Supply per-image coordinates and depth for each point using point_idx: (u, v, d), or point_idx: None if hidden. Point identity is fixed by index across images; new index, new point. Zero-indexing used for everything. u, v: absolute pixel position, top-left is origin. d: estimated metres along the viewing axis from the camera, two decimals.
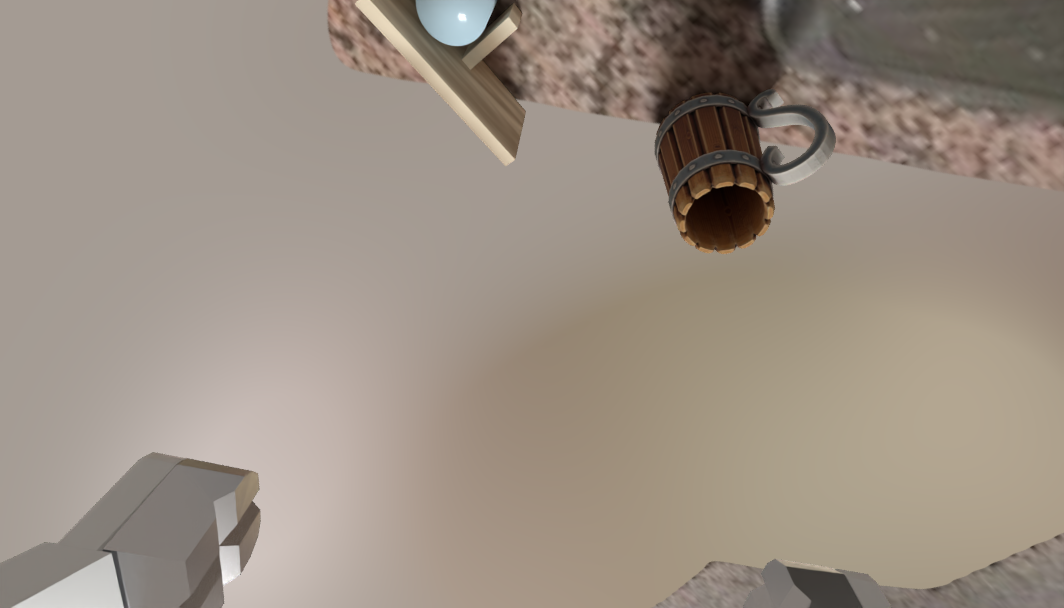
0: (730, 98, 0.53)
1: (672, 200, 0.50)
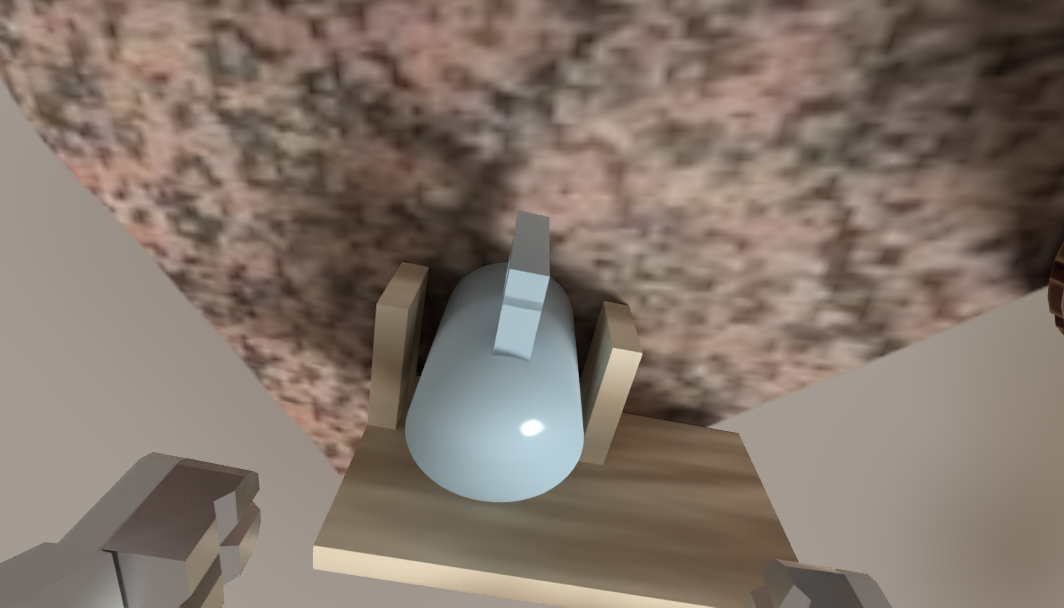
0: None
1: None
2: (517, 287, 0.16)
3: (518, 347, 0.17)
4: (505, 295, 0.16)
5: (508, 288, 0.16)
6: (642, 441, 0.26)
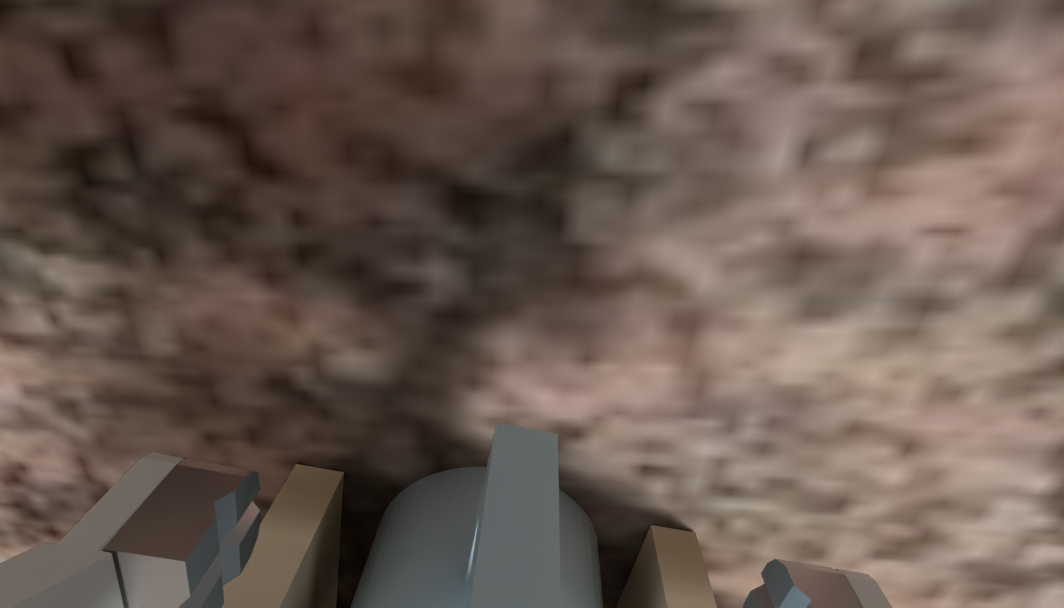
0: None
1: None
2: None
3: None
4: None
5: None
6: None
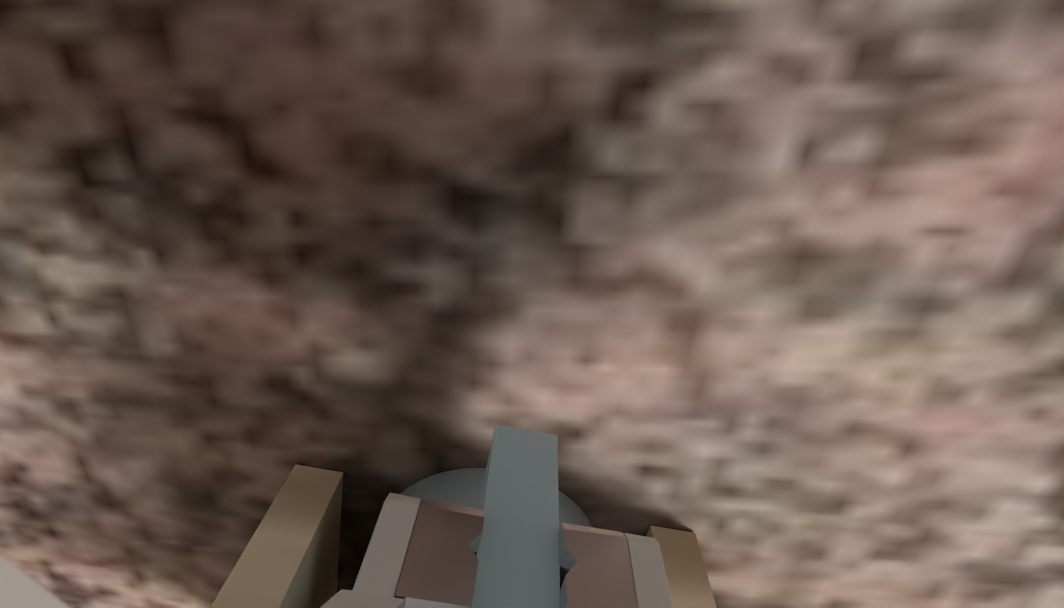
0: None
1: None
2: None
3: None
4: None
5: None
6: None
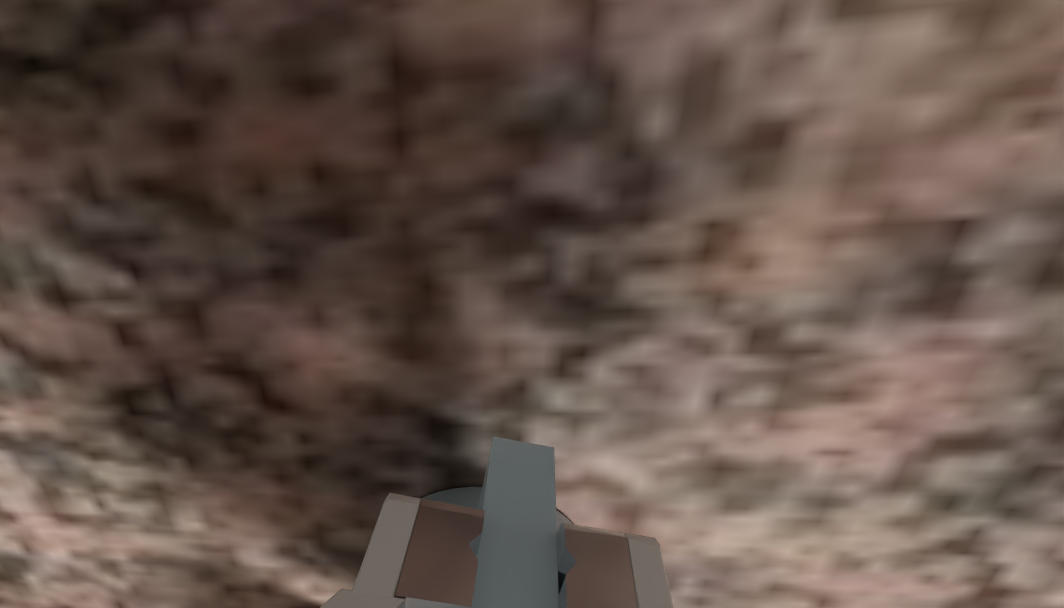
0: None
1: None
2: None
3: None
4: None
5: None
6: None
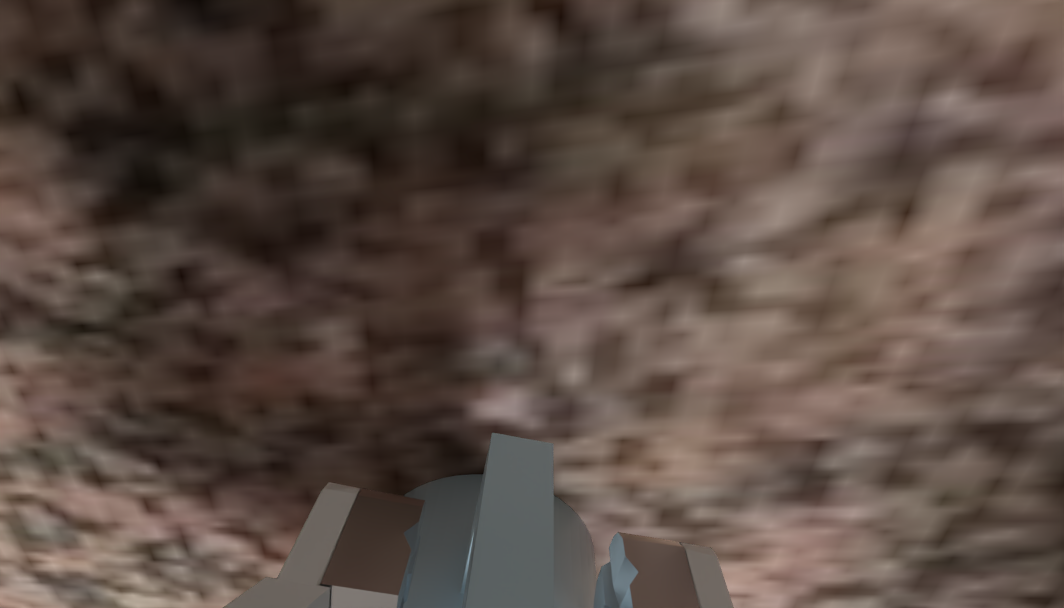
0: None
1: None
2: None
3: None
4: None
5: None
6: None
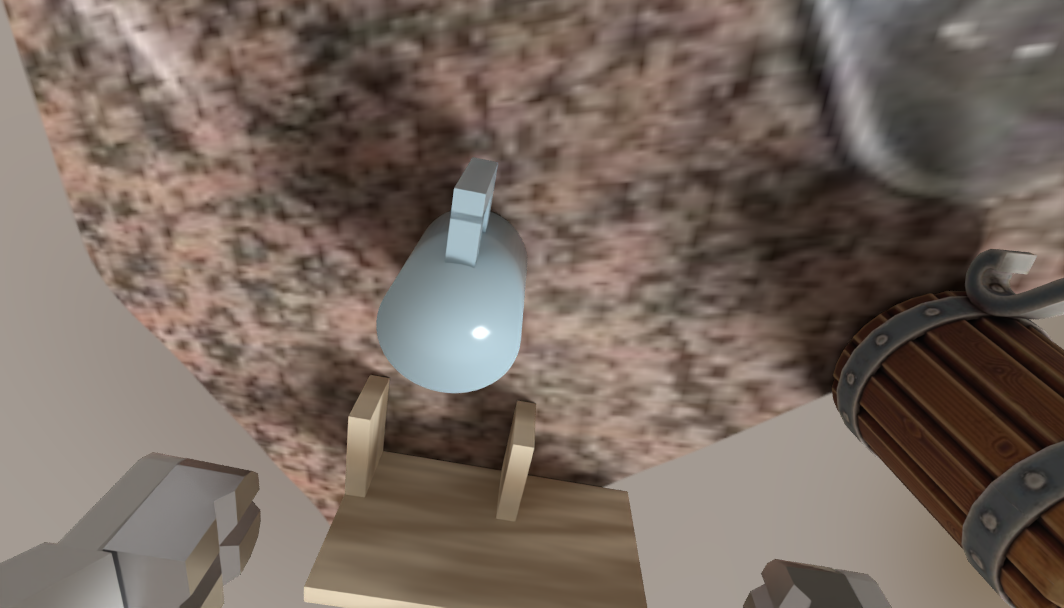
0: (925, 306, 0.28)
1: (998, 592, 0.22)
2: (461, 203, 0.20)
3: (464, 255, 0.21)
4: (452, 210, 0.20)
5: (454, 204, 0.20)
6: (549, 501, 0.35)
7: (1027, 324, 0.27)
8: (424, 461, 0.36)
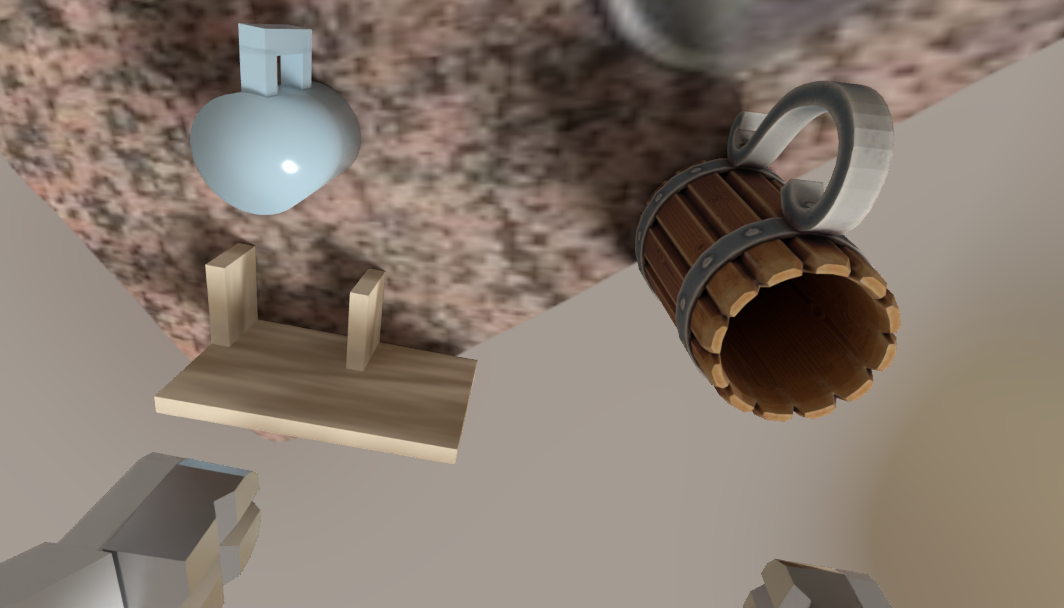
0: (693, 167, 0.33)
1: (698, 368, 0.27)
2: (246, 37, 0.25)
3: (256, 86, 0.26)
4: (240, 44, 0.25)
5: (240, 38, 0.25)
6: (400, 361, 0.39)
7: (770, 177, 0.32)
8: (293, 328, 0.40)
